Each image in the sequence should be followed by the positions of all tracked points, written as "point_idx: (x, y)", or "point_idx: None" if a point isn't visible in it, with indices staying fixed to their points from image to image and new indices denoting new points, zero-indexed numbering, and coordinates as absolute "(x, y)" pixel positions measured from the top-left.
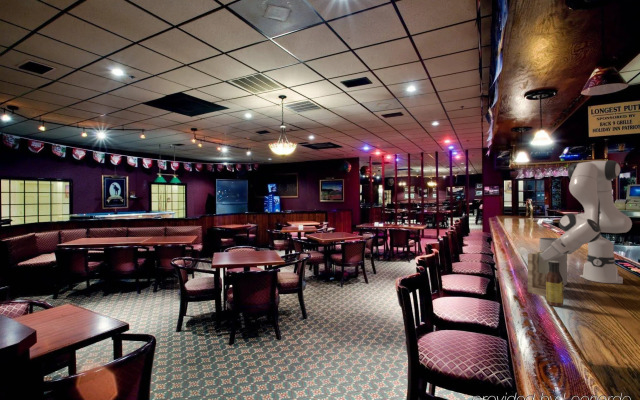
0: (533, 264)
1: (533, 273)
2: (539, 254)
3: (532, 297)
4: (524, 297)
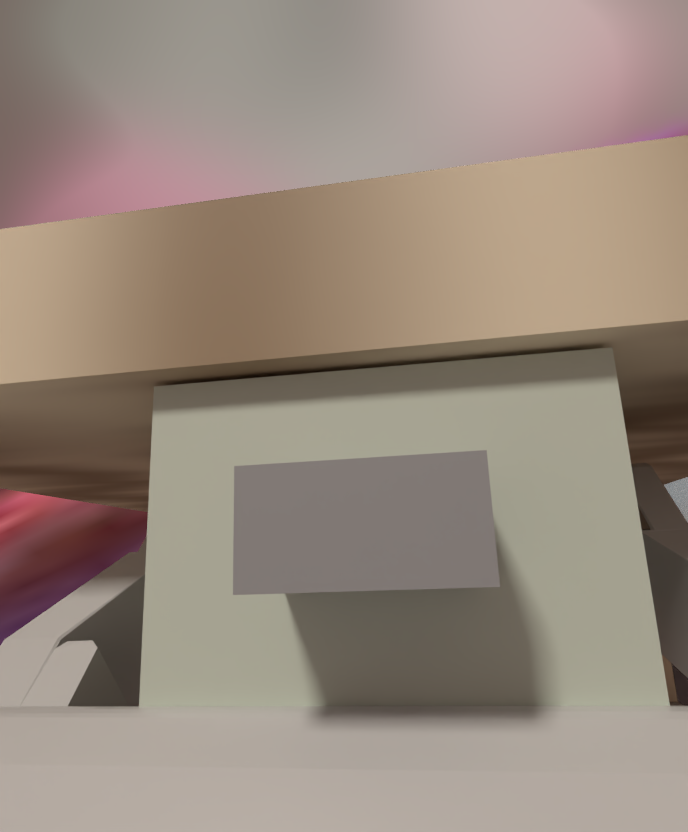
0: (8, 474)
1: (124, 496)
2: (170, 436)
3: (65, 588)
4: (10, 541)
